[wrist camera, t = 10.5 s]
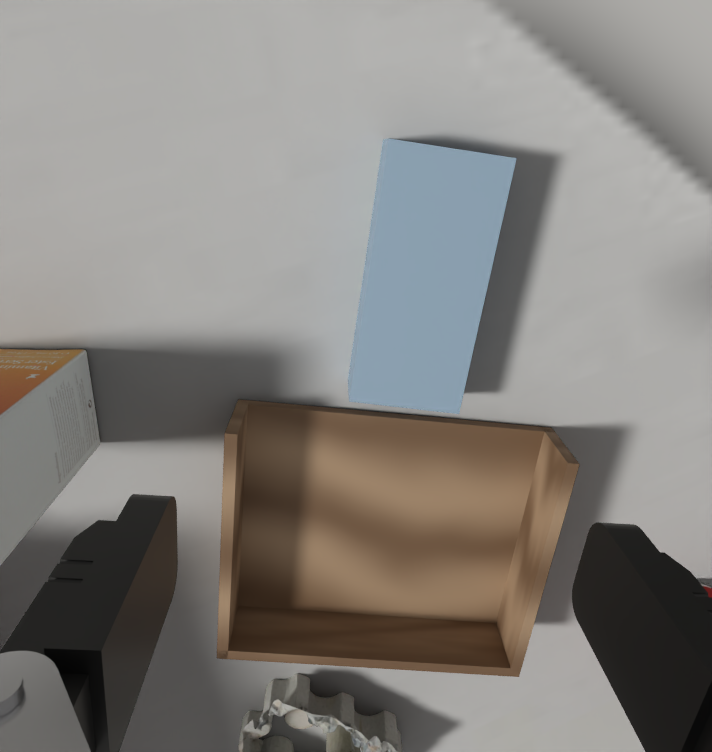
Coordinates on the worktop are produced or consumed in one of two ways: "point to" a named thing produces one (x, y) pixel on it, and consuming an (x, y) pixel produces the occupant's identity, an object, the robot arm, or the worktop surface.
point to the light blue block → (426, 274)
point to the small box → (41, 433)
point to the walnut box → (386, 538)
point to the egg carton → (317, 721)
